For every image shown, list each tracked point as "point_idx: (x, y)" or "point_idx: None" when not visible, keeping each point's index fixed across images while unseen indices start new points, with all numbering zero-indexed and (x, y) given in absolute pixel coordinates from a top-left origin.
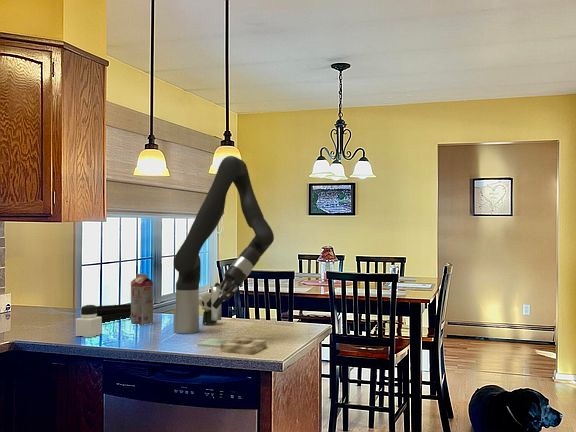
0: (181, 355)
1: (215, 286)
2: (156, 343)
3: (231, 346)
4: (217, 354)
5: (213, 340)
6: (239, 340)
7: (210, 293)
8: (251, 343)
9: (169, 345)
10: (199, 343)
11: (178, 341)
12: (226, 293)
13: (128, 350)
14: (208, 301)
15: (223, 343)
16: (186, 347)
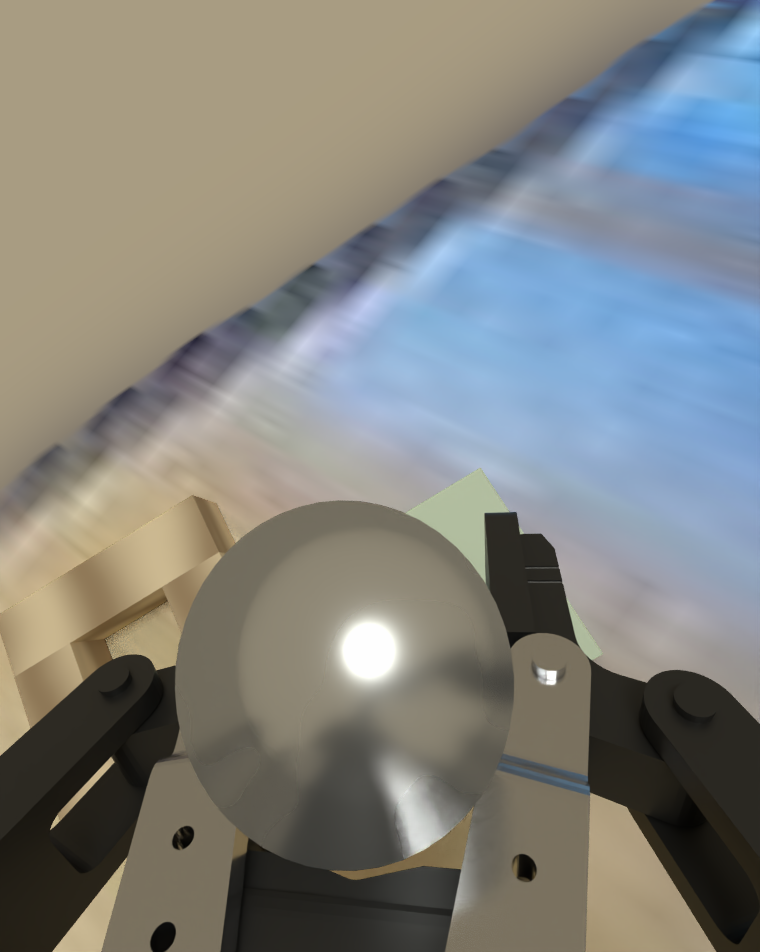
0: (287, 283)
1: (466, 743)
2: (720, 270)
3: (128, 539)
4: (173, 454)
5: None
6: None
7: (713, 686)
8: (69, 682)
9: (595, 320)
10: (473, 485)
11: (700, 422)
12: (33, 731)
13: (601, 83)
14: (510, 540)
15: (199, 524)
16: (462, 386)
